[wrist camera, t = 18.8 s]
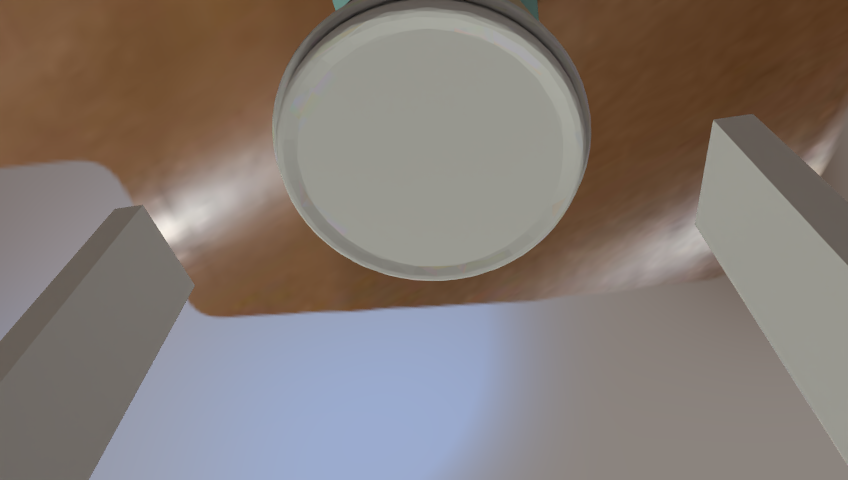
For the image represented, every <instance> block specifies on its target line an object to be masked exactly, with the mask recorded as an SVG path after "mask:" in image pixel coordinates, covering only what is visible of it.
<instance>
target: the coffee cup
mask: <svg viewBox="0 0 848 480" xmlns="http://www.w3.org/2000/svg"><path fill="white" fill-rule="evenodd" d="M272 135H273V145H274V152H275V156H276V161H277V165H278V168H279V171H280V174H281V177H282V179H283V182H284V184H285V187H286V190H287V192H288V194H289V196H290V199H291V201H292V202H293V204H294V206H295V207H296V209H297V211H298V212H299V214H300V215H301V216H302V218H303V219H304V220H305V222H306V223H307V224H308V225H309V227H310V228H311V229H312V230H313V231H314V232H315V233H316V234H317V235H318V236H319V237H320V238H321V239H322V240H324V241H325V242H326V243H327V244H328V245H330V246H331V247H332V248H333V249H335V250H336V251H337V252H339V253H340V254H342V255H344V256H345V257H347V258H349V259H350V260H352V261H354V262H356V263H358V264H360V265H362V266H364V267H367V268H370V269H372V270H375V271H378V272H381V273H384V274H387V275H390V276H395V277H400V278H406V279H412V280H426V281H445V280H453V279H461V278H466V277H472V276H475V275H479V274H482V273H485V272H488V271H491V270H494V269H497V268H499V267H501V266H503V265H505V264H507V263H509V262H511V261H513V260H515V259H517V258H518V257H520V256H522V255H523V254H525V253H526V252H528V251H529V250H530V249H532V248H533V247H534V246H536V245H537V244H538V243H539V242H540V241H541V240H543V239H544V238H545V237H546V236H547V235H548V234H549V233H550V231H551V230H552V229H553V228H554V227H555V226H556V225H557V223H558V222H559V221H560V219H561V218H562V216H563V215H564V213H565V212H566V210H567V209H568V207H569V205H570V204H571V202H572V199H573V197H574V196H575V194H576V192H577V190H578V187H579V185H580V183H581V181H582V178H583V175H584V172H585V169H586V166H587V161H588V157H589V152H590V142H591V117H590V112H589V106H588V100H587V96H586V93H585V89H584V86H583V83H582V80H581V78H580V76H579V74H578V71H577V69H576V67H575V65H574V63H573V62H572V60H571V58H570V57H569V55H568V54H567V52H566V50H565V49H564V48H563V47H562V45H561V44H560V43H559V42H558V40H557V39H556V38H555V37H554V36H553V35H552V34H551V33H550V32H549V31H548V30H547V29H546V28H545V27H544V26H543V25H542V24H541V23H540V22H539V21H538V20H537V19H535V18H534V17H533V15H532V14H531V13H530V12H529V10H528V9H527V8H526V7H525V6H524V4H523V3H522V2H521V1H520V0H350V1H349V2H348V3H347V4H345V5H344V6H343V7H341V8H339V9H338V10H336V11H335V12H333V13H332V14H331V15H330V16H328V17H327V18H326V19H325V20H323V21H322V22H321V23H320V24H318V26H317V27H316V28H315V29H314V30H313V31H312V32H311V33H310V34H309V35H308V36H307V37H306V38H305V39H304V41H303V42H302V43H301V45H300V46H299V47H298V49H297V50H296V51H295V53H294V55H293V56H292V58H291V60H290V62H289V63H288V65H287V67H286V69H285V72H284V74H283V77H282V79H281V81H280V84H279V88H278V92H277V95H276V99H275V104H274V111H273V122H272Z"/></svg>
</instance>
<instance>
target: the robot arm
mask: <svg viewBox="0 0 848 480" xmlns="http://www.w3.org/2000/svg"><path fill="white" fill-rule="evenodd" d="M695 225H696V227H697V228H698V230H699V232H700V233H701V235H702V236H703V238H704V240H705V241H706V243H707V244H708V246H709V247H710V249H711V251H712V252H713V254H714V255H715V257H716V258H717V260H718V262H719V263H720V265H721V266H722V268H723V270H724V271H725V273H726V274H727V276H728V277H729V279H730V280H731V282H732V284H733V285H734V287H735V288H736V290H737V292H738V293H739V295H740V296H741V298H742V300H743V301H744V303H745V304H746V306H747V307H748V309H749V311H750V312H751V314H752V315H753V317H754V319H755V320H756V321H757V323H758V325H759V326H760V328H761V330H762V331H763V333H764V334H765V336H766V337H767V339H768V340H769V342H770V344H771V345H772V347H773V349H774V350H775V352H776V353H777V355H778V356H779V358H780V360H781V361H782V363H783V364H784V366H785V368H786V369H787V371H788V372H789V374H790V375H791V377H792V379H793V380H794V382H795V383H796V385H797V387H798V388H799V390H800V391H801V393H802V394H803V396H804V398H805V399H806V401H807V402H808V404H809V406H810V407H811V409H812V410H813V412H814V413H815V415H816V417H817V418H818V420H819V421H820V423H821V424H822V426H823V428H824V429H825V431H826V432H827V434H828V436H829V437H830V439H831V440H832V442H833V443H834V445H835V446H836V448H837V450H838V451H839V453H840V455H841V456H842V458H843V459H844V461H845V462H846V464H847V466H848V202H847V201H846V200H845V199H844V198H843V197H842V196H841V195H840V194H839V193H837V192H836V191H835V190H834V189H833V188H832V187H831V186H830V185H829V184H827V182H826V181H824V180H823V179H822V178H821V177H820V176H819V175H818V174H817V173H816V172H815V171H814V170H813V169H812V168H811V167H809V166H808V165H807V164H806V163H805V162H804V161H803V160H802V159H801V158H800V157H799V156H798V155H797V154H795V153H794V152H793V151H792V150H791V149H790V148H789V147H788V146H787V145H786V144H785V143H784V142H782V141H781V140H780V139H779V138H778V137H777V136H776V135H775V134H774V133H773V132H772V131H771V130H770V129H768V128H767V127H766V126H765V125H764V124H763V123H762V122H761V121H760V120H759V119H758V118H757V117H755V116H754V115H753V114H749V115H743V116H736V117H729V118H722V119H716V120H713V124H712V130H711V136H710V141H709V147H708V153H707V158H706V164H705V169H704V175H703V181H702V186H701V192H700V198H699V203H698V209H697V215H696V220H695ZM194 286H195V285H194V283H193V282H192V280H191V279H190V277H189V276H188V274H187V273H186V271H185V270H184V268H183V266H182V265H181V263H180V262H179V260H178V259H177V257H176V256H175V254H174V252H173V251H172V249H171V248H170V246H169V245H168V243H167V242H166V240H165V239H164V237H163V235H162V234H161V232H160V231H159V229H158V228H157V226H156V225H155V223H154V221H153V220H152V218H151V217H150V215H149V214H148V212H147V211H146V209H145V208H144V206H143V205H139V206H132V207H126V208H119V209H115V210H114V211H113V212H112V213H111V214H110V215H109V216H108V218H107V219H106V220H105V221H104V222H103V223H102V224H101V225H100V227H99V228H98V229H97V230H96V231H95V232H94V234H93V235H92V236H91V237H90V238H89V240H88V241H87V242H86V243H85V244H84V245H83V246H82V247H81V249H80V250H79V251H78V252H77V253H76V254H75V256H74V257H73V258H72V259H71V260H70V261H69V262H68V264H67V265H66V266H65V267H64V268H63V269H62V271H61V272H60V273H59V274H58V275H57V276H56V278H55V279H54V280H53V281H52V282H51V283H50V284H49V285H48V287H47V288H46V289H45V290H44V291H43V293H42V294H41V295H40V296H39V297H38V298H37V299H36V300H35V302H34V303H33V304H32V305H31V306H30V307H29V309H28V310H27V311H26V312H25V313H24V314H23V315H22V317H21V318H20V319H19V320H18V321H17V322H16V324H15V325H14V326H13V327H12V328H11V329H10V331H9V332H8V333H7V334H6V335H5V336H4V337H3V339H2V340H1V341H0V480H89V478H90V476H91V474H92V473H93V471H94V469H95V467H96V465H97V464H98V462H99V460H100V458H101V456H102V454H103V453H104V451H105V449H106V447H107V445H108V443H109V442H110V440H111V438H112V436H113V434H114V432H115V431H116V428H117V427H118V425H119V423H120V421H121V420H122V418H123V416H124V414H125V412H126V410H127V409H128V407H129V405H130V403H131V401H132V400H133V398H134V396H135V394H136V392H137V390H138V388H139V386H140V385H141V383H142V381H143V379H144V377H145V376H146V374H147V372H148V370H149V368H150V366H151V365H152V363H153V361H154V359H155V357H156V356H157V354H158V352H159V350H160V348H161V346H162V344H163V343H164V341H165V339H166V337H167V335H168V333H169V332H170V330H171V328H172V326H173V324H174V322H175V321H176V319H177V317H178V315H179V313H180V312H181V310H182V308H183V306H184V304H185V303H186V301H187V299H188V297H189V295H190V293H191V292H192V290H193V288H194Z"/></svg>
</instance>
